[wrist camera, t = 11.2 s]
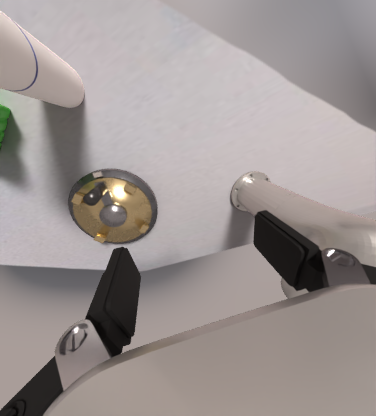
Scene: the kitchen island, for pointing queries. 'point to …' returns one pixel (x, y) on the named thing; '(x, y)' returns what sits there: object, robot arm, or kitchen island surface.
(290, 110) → the kitchen island surface
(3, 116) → the fruit basket
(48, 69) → the cylindrical container
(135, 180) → the cap plate
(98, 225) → the gold dial with handle
